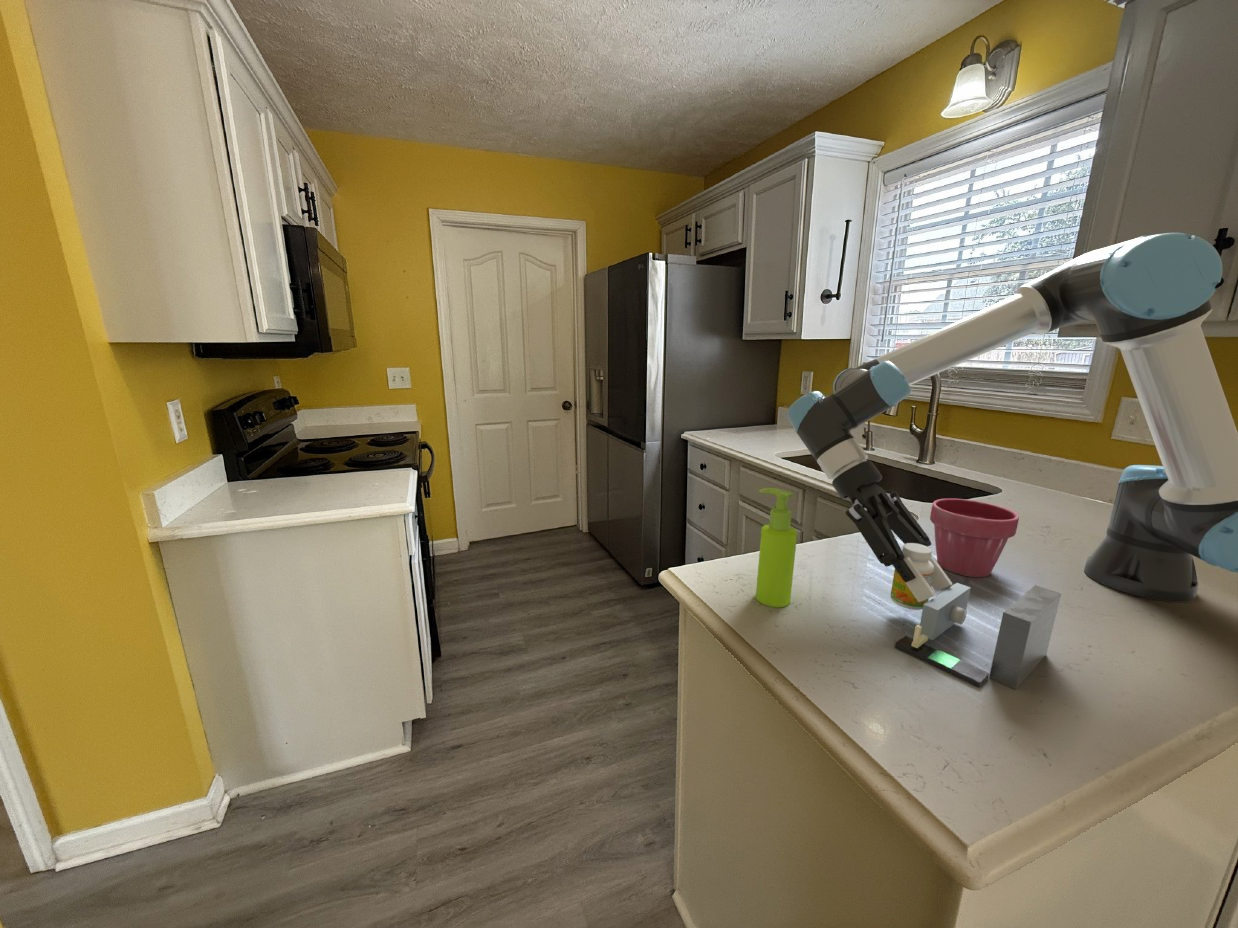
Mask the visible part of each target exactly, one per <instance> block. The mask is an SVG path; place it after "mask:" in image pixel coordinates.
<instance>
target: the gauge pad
mask: <svg viewBox="0 0 1238 928" xmlns="http://www.w3.org/2000/svg"><path fill="white" fill-rule="evenodd" d="M971 589H972V588H971V586H967V585H964V584H962V583H959V582H956V583H954V584H952V585H951V586H948V587H947V588H945V590H944V591H942V592H940V593H939V594H936V595H935V596H934V597H932V598H931V599H929V600H928V602H926V603H925V604H923V609H921V610H922V612H921V617H920V623H919V624H916V625H915V628H914V633H913V638H912V639H913V642H912V645H911V646H913V647H915V648H918V647H920V646H921V645H922V644H925V643H926V642H928V640H931V641H934V640H935V639H936V638H937V637H939V636H940V635H941V634H943V633H944V632H945V631H947V630H948V629H949V628H951V627H952V626H953V625H955V624H958V625H960V626H961V625H963V624H964V622H965V621H966V618H967V614H968V612H967V608H968V603H969V599H970V594H971Z"/></svg>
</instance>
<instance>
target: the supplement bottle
mask: <svg viewBox="0 0 1238 928" xmlns="http://www.w3.org/2000/svg"><path fill="white" fill-rule="evenodd" d="M901 550H902V552H903V554H904V556H905V558H904V559H906V558H908V557H910V559H911V560H912V561H913V563H914V564H915V566H916V567H917V569H918V570H919V571H920V573H921V574H922V576H923V577H924V579H925V580H926V581H927V583H928V584H929V586H930V587H931V588H932V585H931V583H932V578H933V572H934V566H933V564H932V563H931V562H930V561H929V560H930V558H931V554H932V552H933V551H932V549H931V548H930V546H928V547H927V546H924V545H921V544H916V543H906V544H904V543H903V546H902V549H901ZM891 583H892V585H891V590H890V597H889V598H890V599H891V601H892V602H893V603H895V604H896V605H897V606H900V607H902V608H903V609H904V608H905V609H906V610H907V609H908V610H914V611H920V610H923V604H925V603H926V602H928V601H930V598H929V599H926V600H924V601H921V602H918V601H917V599H916V598H915V596H914V595H913V594H912V592H911V591H910V589H909V588H908V586H907V585H906V583H905V582H904V581H903V579H902V578H901V576H900V575H899V573H898V572H897V570H896V569H895V568H894V573H893V578H892V582H891Z"/></svg>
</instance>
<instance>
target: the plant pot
mask: <svg viewBox="0 0 1238 928" xmlns="http://www.w3.org/2000/svg"><path fill="white" fill-rule="evenodd" d="M1019 519H1020V516H1019V515H1018V513H1017V512H1015V511H1013V510H1011V509H1009V508H1006V507H1003V506H1000V505H997V504H992V503H988V502H985V501H984V502H982V501H977V500H972V499H963V498H940V499H936V500H934V501H933V502H932V505H931V510H930V515H929V520H930V522H931V523H932V524H934V525H933V527H934V528H933V529H934V540H935V541H934V544H935V552H936V561H937V563H938V564H939V565H940V567H941V568H942V569H944V570H946V571H948V572H951V573H953V574H957V575H961V576H965V577H970V578H987V577H989V576H990V575H991V573H992V572H993V570H994V567H995V565H996V564H997V562H998V561H999V558H1000V556H1001V555H1002V552H1003V550H1004V549H1005V546H1006V544H1007V542H1008V539H1009V538H1013V537H1014V536H1016V534H1017V529H1018V526H1019Z"/></svg>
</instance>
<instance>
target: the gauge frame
mask: <svg viewBox="0 0 1238 928" xmlns="http://www.w3.org/2000/svg"><path fill="white" fill-rule="evenodd" d="M1061 596H1062V593H1061V592H1058V591H1055V590H1052V589H1048V588H1046V587H1043V586H1039V585H1036V584H1035V585H1033V586H1032V588H1030V589H1029V590H1028V591H1027V592H1026V593H1024V594H1023V595H1022V596H1021V597H1019V598H1018V599H1017V600H1016V601H1015V602H1014V603H1012V604H1011V605H1010V606H1009V607H1008V608H1006V609H1005V610H1004V611H1003V613H1002V617H1001V621H1000V626H999V631H998V635H997V639H996V645H995V648H994V654H993V657H992V663H991V667H990V671H989V672H987V671H985V670H983V669H980V668H978V667H976V666H974V665H972V664H970V663H967V662H965V661H963V660H961V659H959V658H957V657H955V656H953V655H951V654H950V653H947V652H944V651H942V650H940V649H936V648H934V647H932V646H929V645H927V644H925V643H924V644H922V645H921V646H920V647H918V648H915V647H913V646H911V645H912V642H913V638H912V637H909V636H908V635H904V636H903V637H901V639H898V640H897V641H896V642H895V643H894V648H895V649H897V650H899V651H901V652H904V653H905V654H907V655H909V656H912V657H914V658H916V659H918V660H920V661H923V662H925V663H927V664H929V665H931V666H933V667H934V668H937V669H939V670H941V671H943V672H946V673H948V674H949V675H952V676H954V677H955V678H958V679H960V680H963V681H965V682H967V683H969V684H970V685H972V686H975V687H977V688H981V686H982V685H984V683H985V682H986V681H987V680H989V679H991V680H993V681H995V682H997V683H1000V684H1002V685H1004V686H1007V687H1009V688H1011V689H1014V690H1017V689H1018V688H1019V686H1020V685H1021V684H1022V683H1023V682H1024V680H1025V679H1027V678H1028V676H1029V675H1030V674H1031V673H1032V672H1033V671H1034V670H1035V668H1036V667H1037V666H1038V665H1039V664H1040V663H1041V662H1042V660H1044V658H1045V657H1046V656H1047V654H1048V649H1049V646H1050V645H1049V644H1050V641H1051V636H1052V633H1053V629H1054V624H1055V622H1056V621H1055V620H1056V618H1057V617H1056V616H1057V612H1058V608H1059V604H1060V601H1061Z"/></svg>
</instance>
